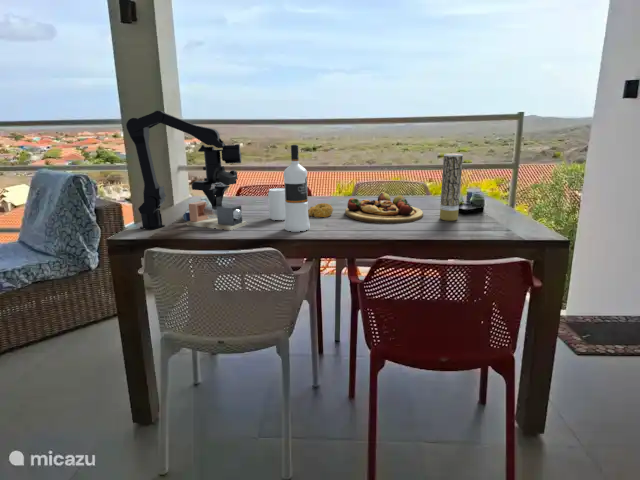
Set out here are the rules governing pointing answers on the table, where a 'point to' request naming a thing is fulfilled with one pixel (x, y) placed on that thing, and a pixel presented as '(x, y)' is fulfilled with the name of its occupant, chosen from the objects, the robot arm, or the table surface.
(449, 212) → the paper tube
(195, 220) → the socket
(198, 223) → the base board
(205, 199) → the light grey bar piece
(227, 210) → the sleeve
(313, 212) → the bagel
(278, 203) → the beverage can
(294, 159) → the vodka
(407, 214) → the wooden plate with food
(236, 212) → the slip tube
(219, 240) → the table surface
